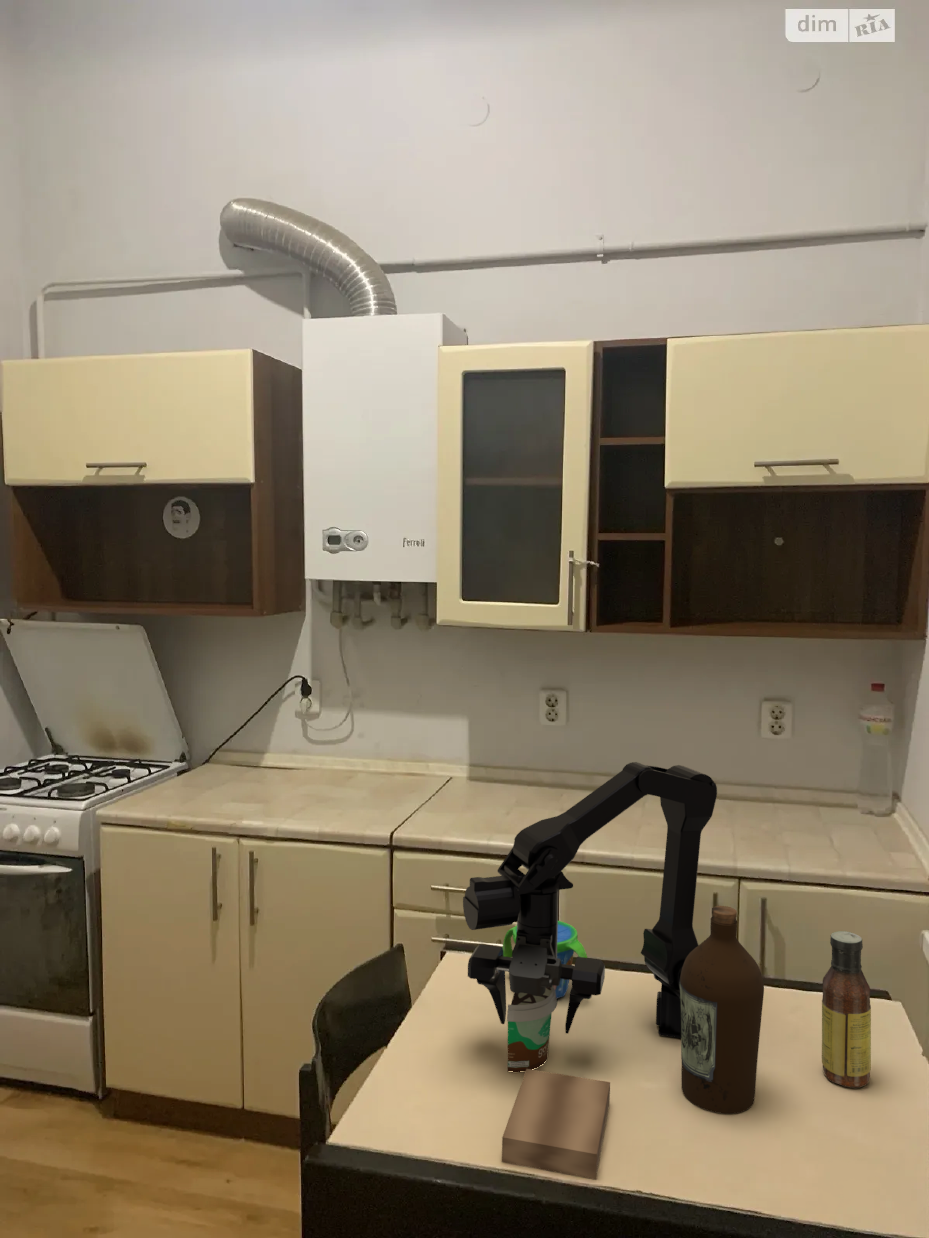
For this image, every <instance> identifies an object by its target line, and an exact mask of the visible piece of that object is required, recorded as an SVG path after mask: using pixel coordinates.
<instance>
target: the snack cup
mask: <svg viewBox="0 0 929 1238" xmlns="http://www.w3.org/2000/svg"><path fill="white" fill-rule="evenodd" d="M516 933H517V924H516V925H515V926H514V927H511V928H510V929H508V930H507V931H506V934H505V935H504V938H503V943H502V948H503V956H505V957H512V952H513V945H512V939H513V943H514V945H515V944H516ZM578 936H579V935H578V930H577V929H576V928H575V927H574V925H572V924H569V923H567V922H564V921H561V920H558V935H557V958H559V959H561V963H562V964H567V965H573V960H574V953H576V954H577V957H584V958H588V956H587V953H586V949H585V947H584V945H583V943H581V942H580V941H579V939H578V938H579V937H578ZM569 984H570V980H567V979H561V980H560V985H559V986H555V985H553V987H554V989H555V993H556V998H557V999H559V998H563V997H565V995H566V994H567V991H568V989H569Z"/></svg>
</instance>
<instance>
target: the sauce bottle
mask: <svg viewBox="0 0 929 1238" xmlns="http://www.w3.org/2000/svg"><path fill="white" fill-rule="evenodd" d="M829 939H830V940H829V943H830V946H831V962H830V967H829V969H828V970H827V971H826V973H825V974H824V976H823V978H822V1000H821V1064H822V1071H823V1073H824V1076H825V1077H826V1079H828V1081H830V1082H832V1083H835V1084H837V1085H839V1086H843V1087H845V1088H851V1089H852V1088H863V1087H864V1086H867V1085H868V1083H869V1082H870V1079H871V1075H870V1074H871V1068H872V1058H871V1057H872V1056H871V1055H872V1040H871V1039H872V1028H871V1027H872V1007H871V987H870V985H869V983H868V982H867V979H866V977H865V974H864V973H863V970H862V968H863V967H862V963H861V961H862V950H863V938H862V936H860V935H858V934H856V933H854V932H850V931H846V930H843V931H842V930H841V931H835V932H832V933H831V934H830V938H829Z"/></svg>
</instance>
